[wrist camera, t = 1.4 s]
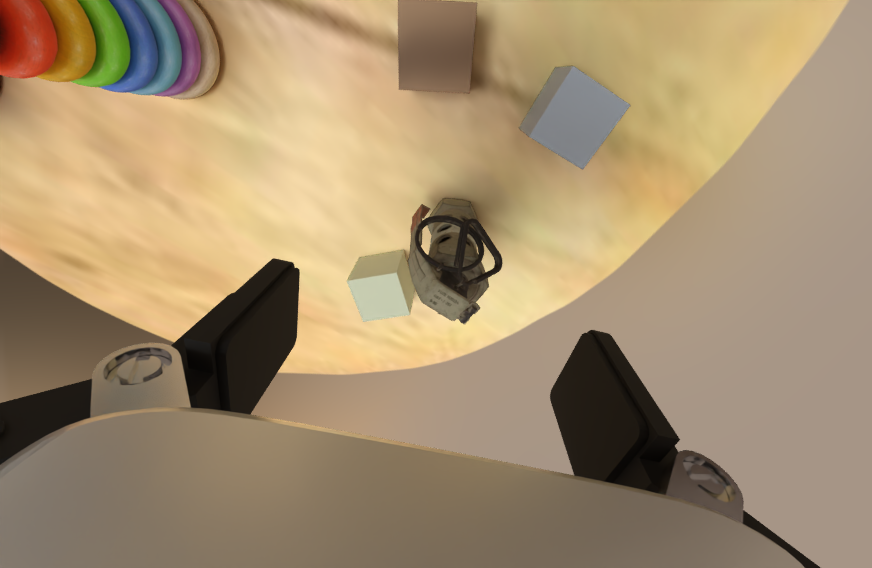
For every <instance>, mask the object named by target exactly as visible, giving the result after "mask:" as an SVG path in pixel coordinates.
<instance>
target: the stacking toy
mask: <svg viewBox="0 0 872 568" xmlns="http://www.w3.org/2000/svg"><path fill="white" fill-rule="evenodd" d="M219 67H220V54H219V48H218V43H217V40H216V37H215V34H214V31H213V29H212V27H211V25H210V23H209V21H208V20H207V18H206V16H205V15H204V13H203V12H202V11H201V9H200V8H199V7H198V5H197V4H196V3H195V2H194V1H193V0H0V75H3V76H7V77H13V78H30V77H35V76H36V77H38V78H41V79H45V80H49V81H56V82H69V81H71V82H73V83H76V84H79V85H84V86H90V87H100V88H103V89H106V90H109V91H114V92H130V93H133V94H138V95H155V96H168V97H171V98H176V99H192V98H196V97H199V96H201V95H203V94H204V93H206V92H207V91H208V90H209V89H210V88H211V87H212V86H213V84H214V83H215V81H216V79H217V76H218V73H219Z"/></svg>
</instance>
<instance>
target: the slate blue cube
mask: <svg viewBox="0 0 872 568" xmlns="http://www.w3.org/2000/svg"><path fill="white" fill-rule="evenodd" d="M629 107H630V104H628V103H627V102H625V101H624V100H622V99H621V98H619V97H618V96H616V95H615V94H613V93H612V92H611V91H609V90H608V89H606V88H605V87H603V86H602V85H600V84H599V83H597V82H596V81H595V80H593V79H592V78H590V77H589V76H587V75H586V74H584V73H583V72H581V71H580V70H578V69H577V68H576V67H574V66H567V67H555V69H554V70H553V72H552V74H551V75H550V77H549V79H548V80H547V82H546V84H545V85H544V87H543V89H542V90H541V92H540V94H539V95H538V97H537V98H536V100H535V102H534V103H533V105H532V107H531V108H530V110H529V112H528V113H527V115H526V117H525V118H524V120H523V122H522V123H521V125H520V127H519V129H520V130H522V131H523V132H524V133H525V134H526V135H527V136H529V137H530V138H532V139H533V140H535V141H537V142H538V143H540V144H542V145H543V146H545V147H547V148H548V149H550V150H551V151H553V152H555V153H556V154H558V155H560V156H561V157H563V158H564V159H566V160H568V161H569V162H571V163H573V164H574V165H576V166H578V167H579V168H581V169H582V170H583V169H584V167H585V166H586V165H587V163H588V162H589V161H590V159H591V158H592V156H593V155H594V154H595V152H596V151H597V150H598V148H599V147H600V146H601V144H602V143H603V142H604V140H605V139H606V138H607V136H608V135H609V134H610V132H611V131H612V130H613V128H614V127H615V125H616V124H617V123H618V121H619V120H620V119H621V117H622V116H623V115H624V113H625V112H626V111H627V109H628V108H629Z"/></svg>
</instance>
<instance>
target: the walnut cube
mask: <svg viewBox="0 0 872 568" xmlns="http://www.w3.org/2000/svg"><path fill="white" fill-rule="evenodd" d="M476 11H477V3H476V2H456V1H436V0H398V50H399V90H416V91H434V92H452V93H470V82H471V70H472V58H473V46H474V35H475V23H476Z"/></svg>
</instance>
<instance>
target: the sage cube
mask: <svg viewBox="0 0 872 568" xmlns="http://www.w3.org/2000/svg"><path fill="white" fill-rule="evenodd" d="M347 283H348V286H349V288H350V290H351V293H352V295H353V298H354V300H355V303H356V305H357V307H358V310H359V312H360V315H361V317H362V320H363V322H365V321H372V320H379V319H386V318H393V317H399V316H406V315H410V312H411V307H412V302H413V297H414V292H415V287H414V285H413V283H412V279H411V275H410V270H409V267H408V263H407V260H406V256H405V253H404V250H398V251H393V252H387V253H382V254H376V255H371V256H365V257H359V259H358V261H357V262H356V264H355V266H354V268H353V270H352V272H351V274H350V276H349V278H348V279H347Z"/></svg>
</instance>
